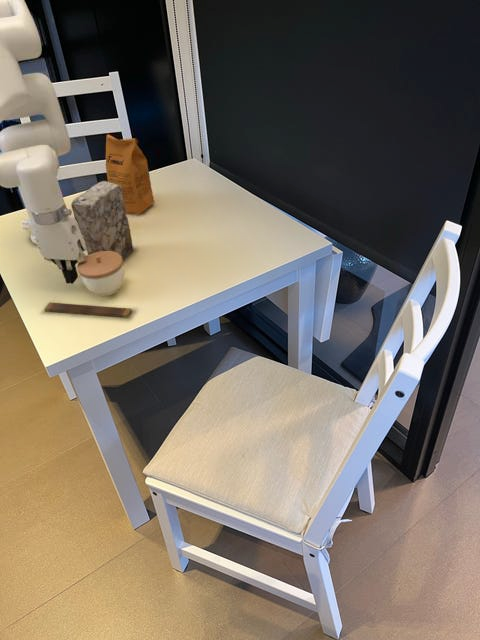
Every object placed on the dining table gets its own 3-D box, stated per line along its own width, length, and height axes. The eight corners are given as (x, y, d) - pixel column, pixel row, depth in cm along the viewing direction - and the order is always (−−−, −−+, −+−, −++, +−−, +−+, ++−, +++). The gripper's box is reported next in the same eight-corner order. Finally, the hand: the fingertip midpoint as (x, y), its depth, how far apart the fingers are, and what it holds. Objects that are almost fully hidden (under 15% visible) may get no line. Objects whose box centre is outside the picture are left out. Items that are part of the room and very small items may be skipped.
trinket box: (119, 303, 123) (110, 270, 117) (77, 300, 125) (67, 268, 119) (135, 277, 131) (127, 245, 125) (95, 275, 133) (86, 243, 127)
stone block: (113, 275, 132) (93, 204, 120) (89, 272, 135) (68, 201, 122) (137, 249, 142) (121, 180, 129) (115, 246, 144) (97, 178, 131)
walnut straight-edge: (45, 311, 123) (44, 308, 122) (50, 304, 125) (49, 302, 124) (128, 318, 118) (127, 315, 118) (132, 311, 120) (131, 308, 120)
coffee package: (130, 196, 168) (114, 128, 154) (159, 203, 163) (146, 133, 149) (108, 209, 162) (91, 139, 148) (138, 217, 156) (123, 145, 143)
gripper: (87, 206, 118) (106, 274, 129) (29, 204, 121) (52, 270, 132) (72, 222, 112) (93, 291, 124) (11, 220, 115) (38, 287, 127)
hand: (72, 280), depth 128 cm, fingers closed
